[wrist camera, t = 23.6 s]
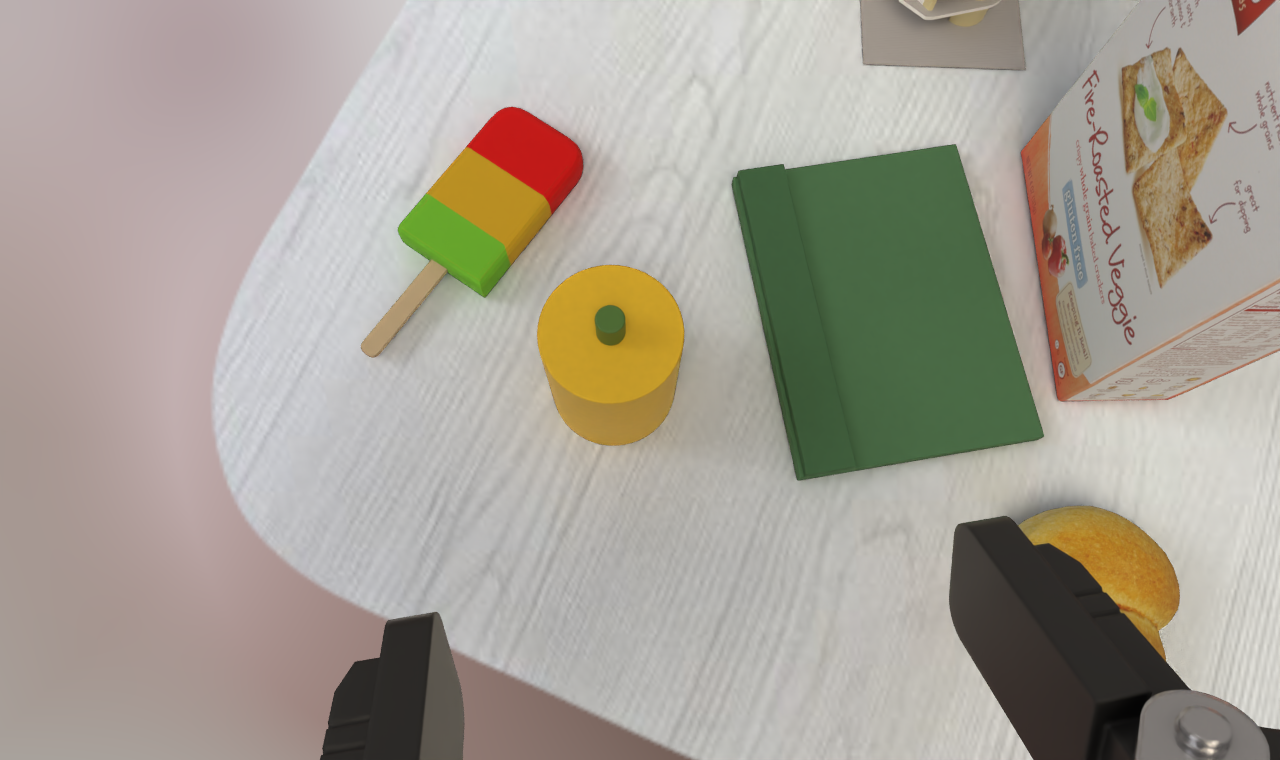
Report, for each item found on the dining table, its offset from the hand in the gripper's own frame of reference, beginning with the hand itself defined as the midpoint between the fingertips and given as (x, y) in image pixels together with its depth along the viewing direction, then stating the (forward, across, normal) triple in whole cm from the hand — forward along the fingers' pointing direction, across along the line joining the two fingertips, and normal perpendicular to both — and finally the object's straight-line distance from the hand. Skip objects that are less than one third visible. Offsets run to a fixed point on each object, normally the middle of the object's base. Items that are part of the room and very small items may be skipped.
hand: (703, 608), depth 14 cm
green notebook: (+30, -14, +10) cm, 34 cm away
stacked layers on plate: (+42, -22, -2) cm, 48 cm away
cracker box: (+30, -25, +10) cm, 40 cm away
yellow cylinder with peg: (+28, 0, +12) cm, 31 cm away
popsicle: (+35, +6, +6) cm, 36 cm away
